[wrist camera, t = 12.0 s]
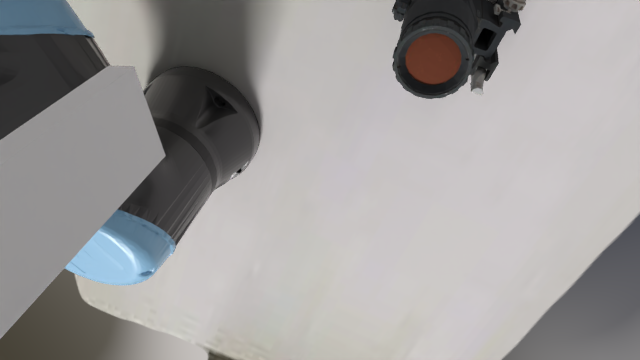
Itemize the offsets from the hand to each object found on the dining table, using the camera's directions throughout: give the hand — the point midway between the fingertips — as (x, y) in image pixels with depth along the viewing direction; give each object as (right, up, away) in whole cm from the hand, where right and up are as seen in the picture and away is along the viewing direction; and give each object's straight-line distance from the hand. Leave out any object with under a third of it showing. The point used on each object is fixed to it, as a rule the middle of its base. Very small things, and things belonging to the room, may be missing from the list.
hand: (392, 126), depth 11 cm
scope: (+10, +15, +31) cm, 36 cm away
